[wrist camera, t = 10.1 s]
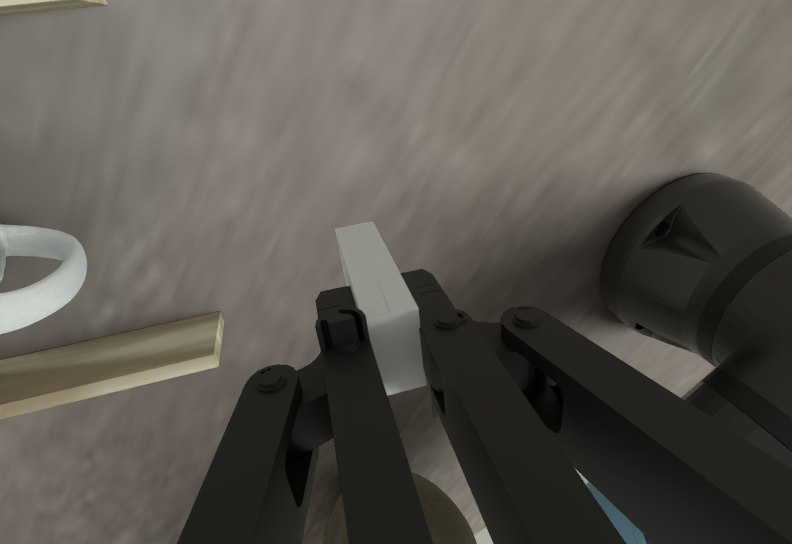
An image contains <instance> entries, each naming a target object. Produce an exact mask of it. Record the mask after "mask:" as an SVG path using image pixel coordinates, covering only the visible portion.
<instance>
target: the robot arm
mask: <svg viewBox="0 0 792 544" xmlns="http://www.w3.org/2000/svg"><path fill="white" fill-rule="evenodd" d="M335 231H336V236H337V241H338V247H339V252H340V257H341V262H342V267H343V273H344V278H345V283H346V286H345V287H341V288H336V289H331V290H326V291H322V292H320V294H319V296H318V298H317V299H316V307H317V313H318V320H317V321H316V325H315V328H316V332H317V336H318V340H319V344H320V348H321V352H320V354H319V356H318V357H317V358H316V359H315V360H314V361H313V362H312V363H311V364H309V365H307V366H305V367H304V368H302V369H299V370H297V371H296V370H295V369H294V368H293V367H290V366H288V365H279V364H277V365H273V366H268V367H266V368H263V369H261V370H259V371H257V372H256V373H255V374H254V375H252V376H251V377H250V378H249V380H248V381H247V383H246V384H245V386H244V388H243V391H242V393H241V395H240V398H239V400H238V402H237V405H236V407H235V409H234V412H233V414H232V416H231V419H230V421H229V423H228V426H227V428H226V430H225V433H224V435H223V437H222V440H221V442H220V444H219V447H218V449H217V451H216V454H215V456H214V458H213V461H212V463H211V465H210V468H209V470H208V472H207V475H206V477H205V479H204V482H203V484H202V486H201V489H200V491H199V493H198V496H197V498H196V500H195V503H194V505H193V507H192V510H191V512H190V514H189V517H188V519H187V521H186V524H185V526H184V528H183V531H182V533H181V535H180V538H179V540H178V542H177V544H301V543H302V537H303V532H304V527H305V521H306V516H307V511H308V506H309V500H310V495H311V490H312V484H313V479H314V474H315V468H316V463H317V458H318V446H320V445H322V444H323V443H325V442H327V441H329V440H330V439H332V438H334V443H335V450H336V457H337V464H338V471H339V478H340V485H341V492H342V499H343V506H344V513H345V520H346V527H347V534H348V541H349V544H433V541H432V538H431V535H430V532H429V528H428V525H427V522H426V519H425V515H424V512H423V509H422V506H421V503H420V499H419V496H418V493H417V490H416V487H415V483H414V480H413V477H412V474H411V471H410V467H409V464H408V461H407V458H406V454H405V451H404V448H403V445H402V442H401V438H400V435H399V432H398V429H397V426H396V422H395V419H394V416H393V413H392V409H391V406H390V403H389V400H388V397H387V396H388V395H392V394H396V393H400V392H404V391H408V390H412V389H416V388H420V387H423V386H427V384H426V375H427V378H428V380H429V382H430V388H431V398H432V408H433V416H434V417H437V412H438V414H439V416H440V419H441V421H442V423H443V426H444V428H445V431H446V433H447V435H448V438H449V440H450V442H451V445H452V447H453V449H454V452H455V454H456V456H457V459H458V461H459V463H460V466H461V468H462V471H463V473H464V475H465V478H466V480H467V482H468V485H469V487H470V489H471V492H472V494H473V496H474V499H475V501H476V503H477V506H478V508H479V511H480V513H481V515H482V518H483V520H484V522H485V525H486V527H487V529H488V532H489V534H490V536H491V539H492V541H493V543H494V544H792V218H791V217H790V216H788V215H787V214H786V213H785V212H784V211H782V210H781V209H780V208H779V207H777V206H776V205H775V204H774V203H772V202H771V201H770V200H769V199H767V198H766V197H765V196H763V194H762V193H760V192H759V191H758V190H757V189H755V188H754V187H752V186H750V185H749V184H746V183H744V182H741V181H738V180H735V179H732V178H729V177H726V176H723V175H719V174H712V173H704V174H696V175H692V176H688V177H685V178H682V179H679V180H677V181H675V182H673V183H671V184H669V185H667V186H665V187H664V188H662V189H660V190H659V191H657V192H656V193H655V194H653V195H652V196H651V197H649V198H648V199H647V200H646V201H645V202H643V203H642V204H641V205H640V206H639V207H638V208H637V209H636V210H635V211H634V212H633V213H632V214H631V216H630V217H629V218H628V219H627V220H626V222H625V223H624V224H623V226H622V227H621V229H620V230H619V232H618V233H617V235H616V237H615V238H614V240H613V242H612V244H611V246H610V248H609V251H608V253H607V256H606V259H605V262H604V266H603V271H602V280H601V286H602V294H603V298H604V301H605V303H606V305H607V307H608V308H609V310H610V311H611V312H612V313H613V314H614V315H615V316H616V317H617V318H619V319H620V320H621V321H622V322H623V323H625V324H626V325H627V326H628V327H630V328H631V329H633V330H634V331H636V332H638V333H640V334H643V335H646V336H649V337H652V338H655V339H657V340H660V341H662V342H665V343H668V344H670V345H673V346H676V347H679V348H682V349H684V350H687V351H690V352H693V353H695V354H698V355H700V356H701V357H702V358H704V359H705V360H707V361H708V362H709V363H710V364H712V365H713V366H714V367H716V368H715V369H714V370H713V371H712V372H711V373H709V374H708V375H707V376H706V377H705V378H704V379H703V380H701V381H700V382H699V383H698V384H696V385H695V386H694V387H693V388H692V389H691V390H689V391H688V392H687V393H686V394H685V395H684V396H682V397H681V398H680V397H678V396H677V395H675V394H673V393H672V392H670V391H669V390H667V389H666V388H664V387H662V386H661V385H659V384H658V383H656V382H655V381H653V380H651V379H650V378H648V377H647V376H645V375H644V374H642V373H640V372H639V371H637V370H636V369H634V368H633V367H631V366H629V365H628V364H626V363H625V362H623V361H622V360H620V359H619V358H617V357H615V356H614V355H612V354H611V353H609V352H608V351H606V350H604V349H603V348H601V347H600V346H598V345H597V344H595V343H593V342H592V341H590V340H589V339H587V338H586V337H584V336H582V335H581V334H579V333H578V332H576V331H575V330H573V329H571V328H570V327H568V326H567V325H565V324H564V323H562V322H561V321H559V320H557V319H556V318H554V317H553V316H551V315H550V314H548V313H546V312H545V311H543V310H540V309H538V308H535V307H529V306H518V307H514V308H510V309H508V310H507V311H505V312H504V313H503V315H502V316H501V322H500V323H480V322H474V321H473V320H472V319H471V317H470V316H469V315H468V314H466V313H465V312H463V311H460V310H457V309H455V308H454V306H453V305H452V303H451V302H450V300H449V299H448V297H447V296H446V294H445V293H444V291H443V290H442V288H441V287H440V285H439V284H438V282H437V280H436V279H435V277H434V276H433V274H431V273H429V272H427V271H425V270H423V269H420V270H415V271H410V272H406V273H401V274H400V272H399V270H398V268H397V266H396V264H395V262H394V261H393V259H392V257H391V255H390V253H389V251H388V249H387V247H386V245H385V243H384V241H383V240H382V238H381V236H380V234H379V232H378V230H377V228H376V226H375V224H374V222H373V221H372V222H366V223H361V224H356V225H351V226H346V227H341V228H336V229H335ZM425 373H426V375H425ZM575 469H576V470H578V471H579V472H580V473H581V474H582V475H583V476H584V477H585V478H586V479H587V480H588V483H587V485H586V484H585V483H584V482H583V480H582V479H581V477H580V476H579V474H578V473H577V471H576V470H575Z"/></svg>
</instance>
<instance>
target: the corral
mask: <svg viewBox="0 0 792 544" xmlns="http://www.w3.org/2000/svg"><path fill="white" fill-rule="evenodd" d="M97 5H107V2H106V0H0V16H3V15H12V14H22V13H31V12H40V11H50V10H59V9H69V8H78V7H88V6H97ZM223 329H224V320H223V318H222V315H221V312H220V311H219V312H215V313H210V314H206V315H201V316H197V317H192V318H188V319H183V320H179V321H174V322H170V323H165V324H161V325H156V326H152V327H147V328H143V329H138V330H134V331H129V332H125V333H120V334H116V335H111V336H107V337H102V338H98V339H93V340H89V341H84V342H80V343H75V344H71V345H66V346H62V347H57V348H53V349H48V350H44V351H39V352H35V353H30V354H26V355H21V356H17V357H12V358H8V359H3V360H0V419H4V418H8V417H12V416H17V415H21V414H25V413H29V412H33V411H37V410H41V409H46V408H50V407H54V406H58V405H62V404H66V403H70V402H74V401H79V400H83V399H87V398H91V397H95V396H99V395H103V394H108V393H112V392H116V391H120V390H124V389H128V388H132V387H136V386H141V385H145V384H149V383H153V382H157V381H161V380H165V379H170V378H174V377H178V376H182V375H186V374H190V373H194V372H198V371H203V370H207V369H211V368H215V367H218V366H219V359H220V351H221V344H222V336H223Z"/></svg>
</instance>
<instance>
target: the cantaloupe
mask: <svg viewBox="0 0 792 544" xmlns="http://www.w3.org/2000/svg"><path fill="white" fill-rule="evenodd" d="M411 474H412V477H413V480H414V483H415V487H416V490H417V493H418V496H419V499H420V503H421V506H422V509H423V512H424V515H425V519H426V522H427V525H428V528H429V532H430V535H431V538H432V541H433V544H477V543H476V540H475V538H474V535H473V532H472V530H471V528H470V526H469V524H468V522H467V521H466V519H465V517H464V516H463V514H462V513H461V512H460V510H459V509H458V507H457V506H456V505H455V504H454V502H453V501H452V500H451V499H450V498H449V497H448V496H447V495H446V494H445V493H444V492H443V491H442V490H441V489H440V488H439V487H437V486H436V485H435V484H433V483H432V482H430V481H429V480H427V479H425V478H423V477H422V476H420V475H417V474H415V473H412V472H411ZM323 544H349V541H348V534H347V527H346V520H345V513H344V506H343V499H342V493H341V494H340V496H339V497H338V499H337V501H336V503H335V505H334V507H333V510H332V512H331V515H330V518H329V521H328V524H327V528H326V531H325V536H324V541H323Z"/></svg>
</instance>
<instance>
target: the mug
mask: <svg viewBox="0 0 792 544" xmlns="http://www.w3.org/2000/svg"><path fill="white" fill-rule="evenodd" d="M8 256H35V257H44V258H52V259H57V260H61V261H63V263H62V264H61V266H60V267H59V268H58V269H57V270H56V271H54V272H53V273H51V274H50V275H48V276H47V277H45V278H44V279H42V280H40V281H38V282H36V283H34V284H32V285H29V286H27V287H24V288H21V289H18V290H14V291H9V292H4V293H0V335H1V334H4V333H8V332H11V331H14V330H17V329H20V328H23V327H26V326H28V325H31V324H33V323H35V322H37V321H39V320H41V319H43V318H45V317H47V316H49V315H51V314H52V313H54V312H56V311H57V310H59V309H60V308H62V307H63V306H64V305H66V304H67V303H68V302H69V301H70V300H71V299H72V298H73V297H74V296H75V295H76V294H77V293H78V291H79V290H80V288H81V286H82V285H83V283H84V280H85V277H86V272H87V259H86V255H85V251H84V249H83V247H82V245H81V244H80V242H79V241H78V240H77V239H76V238H75V237H74V236H72V235H70V234H67V233H65V232H62V231H59V230H54V229H49V228H42V227H34V226H21V225H2V224H1V223H0V282H1V280H2V278H3V276H4V268H5V265H6V257H8Z"/></svg>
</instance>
